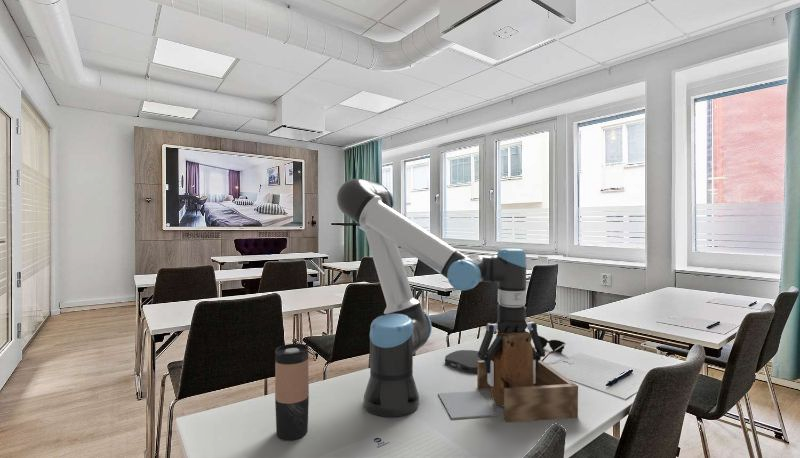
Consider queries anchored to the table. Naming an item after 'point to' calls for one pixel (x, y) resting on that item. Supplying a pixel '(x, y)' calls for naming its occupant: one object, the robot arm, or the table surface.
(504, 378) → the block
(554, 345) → the sunglasses
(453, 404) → the mat
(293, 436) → the travel mug
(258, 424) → the table surface
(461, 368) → the media streaming box
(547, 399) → the open box
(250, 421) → the table surface
